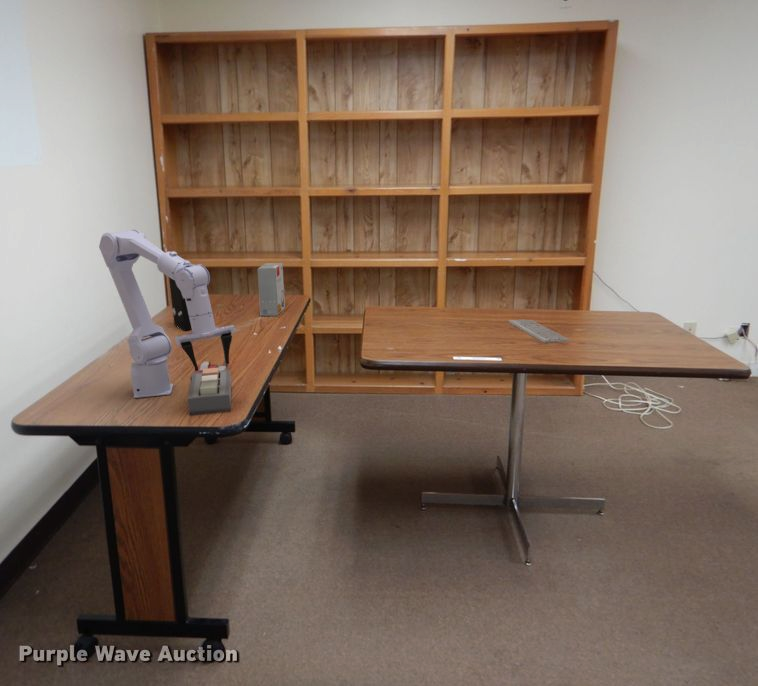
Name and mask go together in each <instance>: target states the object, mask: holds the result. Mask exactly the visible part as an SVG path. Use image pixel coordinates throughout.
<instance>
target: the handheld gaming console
mask: <svg viewBox="0 0 758 686" xmlns="http://www.w3.org/2000/svg"><path fill="white" fill-rule="evenodd" d="M168 281H169V287H170V288H169V290H170V297H171V298H170V299H171V307H172V308H171V309H172V310H171V311H172V317H173V323H174V324H173V325H174V326H175V327H177V326H178V327H179V328H178V327H177V328H178V329H180V328H181V329H180V330H182V329H183V330H182V331H191V330H192V328H191V323H190V319H189V314H188V310H187V305H186V301H185V298H183V297H182V293H181V291H180V289H179V288H178V287H177V285H176V282H175V280H173V279H171V278H170V277H168Z"/></svg>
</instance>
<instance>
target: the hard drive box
mask: <svg viewBox="0 0 758 686" xmlns="http://www.w3.org/2000/svg"><path fill="white" fill-rule="evenodd" d="M283 266H284V264H283V262H266V263H264V264H262V265H261V266H260V267H258V268H257V282H258V298H259V299H258V302H259V315H260V317H263V316H264V317H266V316H267V317H276V316H277V317H278V316H279V315H280V314H281V313H282V312H283V311H284V310H285V309H286V298H285V285H284V282H285V281H284V269H283V268H284V267H283Z"/></svg>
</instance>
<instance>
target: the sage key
mask: <svg viewBox="0 0 758 686" xmlns="http://www.w3.org/2000/svg"><path fill="white" fill-rule="evenodd" d="M200 393H201V395H211V394H218V387H217V382H212V383H201V386H200Z"/></svg>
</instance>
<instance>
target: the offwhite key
mask: <svg viewBox="0 0 758 686" xmlns="http://www.w3.org/2000/svg"><path fill="white" fill-rule="evenodd" d="M212 382H217V386H219V384H218V375H208V376H202V379H201V383H212Z"/></svg>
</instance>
